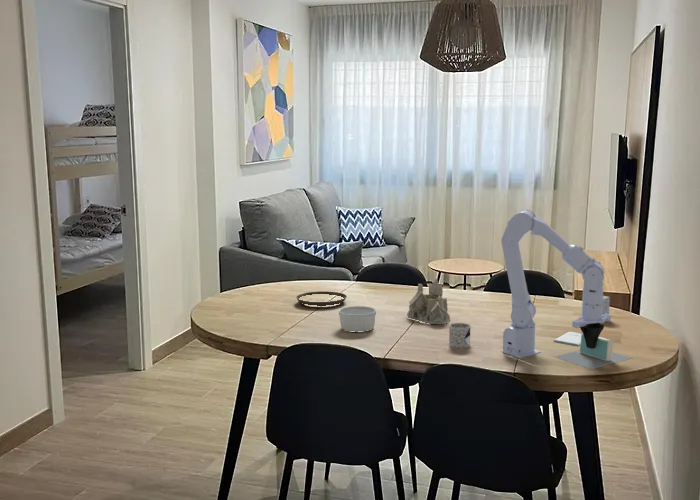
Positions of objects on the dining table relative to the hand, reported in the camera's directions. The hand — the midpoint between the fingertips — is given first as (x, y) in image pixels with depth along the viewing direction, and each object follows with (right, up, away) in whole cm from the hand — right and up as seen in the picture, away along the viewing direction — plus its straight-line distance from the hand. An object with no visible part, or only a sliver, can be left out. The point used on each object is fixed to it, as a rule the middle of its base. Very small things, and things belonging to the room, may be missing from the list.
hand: (590, 347), depth 204 cm
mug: (-36, -2, +18) cm, 41 cm away
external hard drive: (+1, -1, +20) cm, 20 cm away
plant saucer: (-84, +7, +77) cm, 114 cm away
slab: (+2, -3, +2) cm, 4 cm away
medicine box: (+18, +4, +45) cm, 48 cm away
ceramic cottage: (-43, +3, +49) cm, 65 cm away
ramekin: (-69, +1, +38) cm, 79 cm away
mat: (+1, -3, +1) cm, 4 cm away
